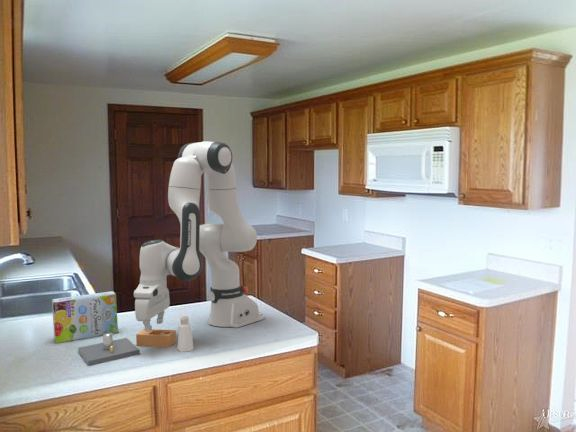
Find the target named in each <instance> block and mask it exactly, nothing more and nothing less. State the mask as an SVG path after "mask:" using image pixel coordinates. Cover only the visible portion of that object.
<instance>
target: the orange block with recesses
mask: <svg viewBox="0 0 576 432" xmlns="http://www.w3.org/2000/svg"><path fill="white" fill-rule="evenodd" d="M135 340H136V347H151V348H152V347H153V348H154V347H155V348H156V347H157V348H171V346H173V345H174V344H175V343H176V342H177V330H176V329H174V330H173V329H157V328H156V329H155V328H152V330H151V331H150V332H146V331H145V328H143V329H141V330H140V331H139V332H137V333H136V335H135Z"/></svg>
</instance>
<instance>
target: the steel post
mask: <svg viewBox="0 0 576 432" xmlns="http://www.w3.org/2000/svg"><path fill="white" fill-rule="evenodd" d="M113 334H114V333H110V332H109V333H104V334H103V335H102V343H103V347H104V350H110V346H113V340H114V337H113V336H114V335H113Z"/></svg>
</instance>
